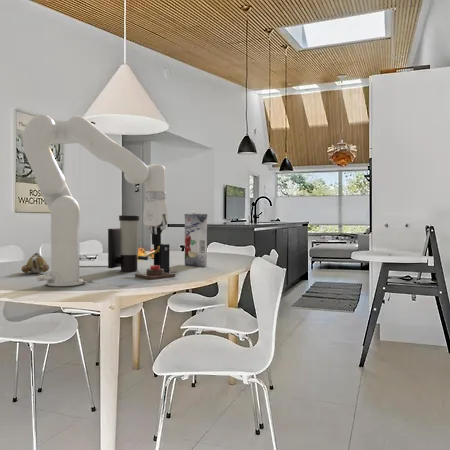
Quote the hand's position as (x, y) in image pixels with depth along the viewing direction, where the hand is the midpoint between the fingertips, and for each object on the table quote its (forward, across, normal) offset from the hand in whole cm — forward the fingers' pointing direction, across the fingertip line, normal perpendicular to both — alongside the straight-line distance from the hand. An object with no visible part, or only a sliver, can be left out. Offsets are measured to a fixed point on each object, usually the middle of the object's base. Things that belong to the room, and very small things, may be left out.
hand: (156, 244), depth 168 cm
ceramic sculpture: (+13, -50, -26) cm, 58 cm away
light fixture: (+14, -23, +1) cm, 27 cm away
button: (+10, 0, -1) cm, 10 cm away
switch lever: (+5, -9, +6) cm, 12 cm away
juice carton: (+14, -22, +40) cm, 48 cm away
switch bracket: (+14, -9, +9) cm, 19 cm away
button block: (+14, 0, -1) cm, 14 cm away
